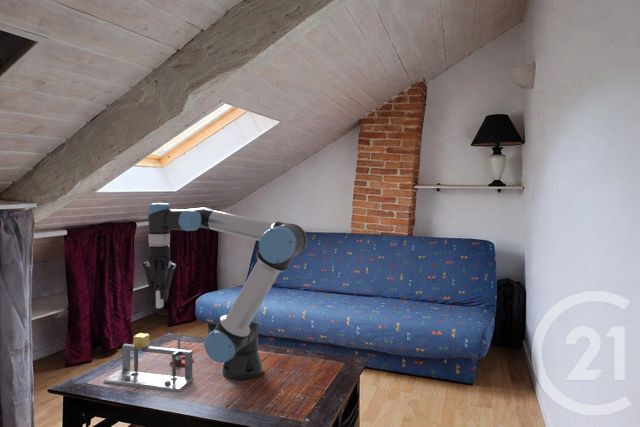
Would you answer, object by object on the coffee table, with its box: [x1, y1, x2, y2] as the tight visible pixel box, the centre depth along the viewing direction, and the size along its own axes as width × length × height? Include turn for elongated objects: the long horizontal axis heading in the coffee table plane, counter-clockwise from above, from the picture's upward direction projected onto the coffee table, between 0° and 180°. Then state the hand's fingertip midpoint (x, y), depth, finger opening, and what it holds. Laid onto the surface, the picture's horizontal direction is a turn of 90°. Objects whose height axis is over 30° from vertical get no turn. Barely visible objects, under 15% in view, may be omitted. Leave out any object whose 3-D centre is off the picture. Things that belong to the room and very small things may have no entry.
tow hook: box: [169, 333, 195, 367], centre depth 189 cm, size 8×13×9 cm
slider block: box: [133, 332, 150, 374], centre depth 176 cm, size 4×6×13 cm, turn 168°
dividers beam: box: [121, 343, 193, 379], centre depth 175 cm, size 28×5×10 cm, turn 78°
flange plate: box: [103, 369, 193, 393], centre depth 170 cm, size 30×9×2 cm, turn 78°
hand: (159, 307), depth 174 cm, fingers closed
